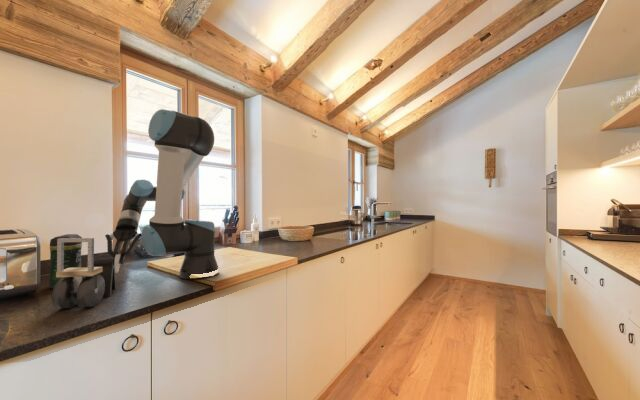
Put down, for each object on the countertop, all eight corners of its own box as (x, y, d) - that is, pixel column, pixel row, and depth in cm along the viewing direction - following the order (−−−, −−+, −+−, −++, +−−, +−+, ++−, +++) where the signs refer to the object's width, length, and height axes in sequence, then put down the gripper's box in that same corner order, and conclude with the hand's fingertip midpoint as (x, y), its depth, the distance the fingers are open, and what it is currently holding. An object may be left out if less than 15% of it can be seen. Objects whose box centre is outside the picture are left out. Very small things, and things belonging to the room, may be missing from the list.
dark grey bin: (109, 297, 89) (110, 260, 89) (86, 299, 86) (86, 261, 86) (116, 288, 97) (117, 254, 97) (95, 290, 94) (95, 256, 94)
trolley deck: (102, 271, 84) (102, 266, 84) (92, 276, 79) (92, 270, 79) (68, 272, 82) (68, 267, 82) (56, 277, 77) (56, 272, 77)
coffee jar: (73, 288, 97) (74, 235, 97) (44, 290, 94) (45, 236, 94) (85, 280, 106) (85, 232, 106) (58, 282, 103) (59, 233, 103)
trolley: (105, 300, 86) (105, 235, 86) (86, 311, 77) (87, 239, 77) (73, 301, 84) (74, 235, 84) (51, 313, 76) (51, 239, 76)
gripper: (147, 228, 124) (136, 274, 108) (112, 228, 119) (96, 277, 103) (144, 217, 119) (133, 264, 103) (108, 217, 114) (90, 266, 98)
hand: (114, 270), depth 103 cm, fingers closed
